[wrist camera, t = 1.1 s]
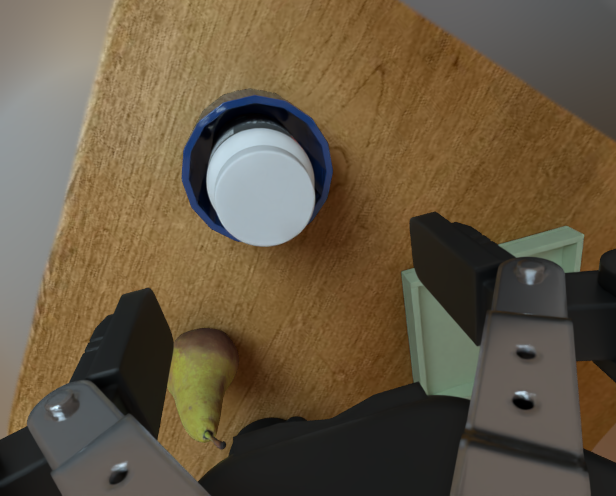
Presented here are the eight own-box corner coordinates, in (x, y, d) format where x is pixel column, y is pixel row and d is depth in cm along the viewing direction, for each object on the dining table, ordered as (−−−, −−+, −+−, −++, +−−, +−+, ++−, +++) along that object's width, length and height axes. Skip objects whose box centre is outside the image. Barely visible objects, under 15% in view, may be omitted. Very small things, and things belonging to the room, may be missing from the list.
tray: (400, 271, 34) (410, 283, 32) (566, 225, 35) (584, 234, 34) (415, 398, 41) (423, 414, 39) (553, 356, 42) (568, 370, 40)
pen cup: (171, 105, 26) (159, 117, 21) (299, 75, 26) (316, 80, 21) (212, 225, 30) (209, 258, 25) (323, 196, 30) (342, 223, 25)
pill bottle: (311, 140, 28) (351, 179, 19) (269, 210, 29) (288, 276, 21) (235, 94, 26) (241, 114, 17) (195, 171, 27) (181, 226, 18)
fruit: (158, 323, 32) (124, 456, 21) (230, 307, 33) (233, 429, 22) (177, 376, 35) (155, 519, 24) (244, 361, 35) (252, 494, 24)
